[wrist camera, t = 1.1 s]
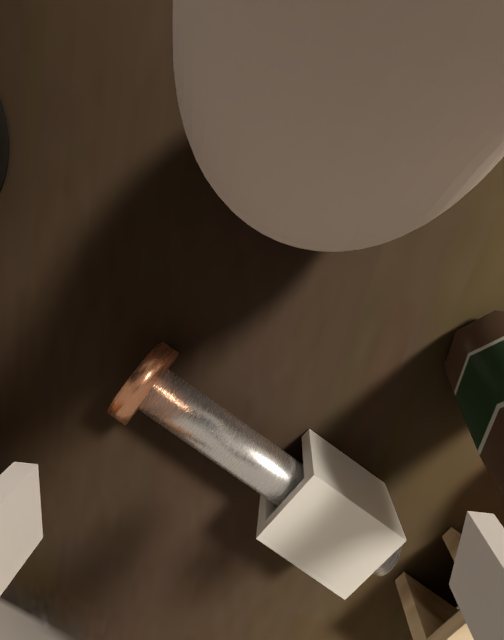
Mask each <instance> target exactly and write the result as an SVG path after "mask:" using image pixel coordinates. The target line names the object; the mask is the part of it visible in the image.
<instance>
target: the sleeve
mask: <svg viewBox="0 0 504 640" xmlns="http://www.w3.org/2000/svg"><path fill="white" fill-rule="evenodd" d="M302 451H303V465H304V479H303V480H302V481H301V482H300V483H299V484H298V485H297V487H296V488H295V489H294V490H293V491H292V492H291V493H290V494H289V495H288V496H287V498H286V499H285V500H284V501H283V502H282V503H281V504H280V505H279V506H278V507H277V506H276V505H274V504H273V503H272V502H270V501H269V500H267V499H266V498H264V497H263V496H262V495H260V503H259V513H258V523H257V534H256V539H257V540H259V541H260V542H262V543H263V544H264V545H266V546H267V547H269V548H270V549H272V550H273V551H275V552H276V553H278V554H279V555H280V556H282V557H283V558H285V559H286V560H288V561H289V562H291V563H292V564H294V565H295V566H296V567H298V568H299V569H301V570H302V571H304V572H305V573H307V574H308V575H310V576H311V577H312V578H314V579H315V580H317V581H318V582H320V583H321V584H323V585H324V586H326V587H327V588H328V589H330V590H331V591H333V592H334V593H336V594H337V595H339V596H340V597H342V598H343V599H344V600H345V599H346V598H347V597H348V596H349V595H350V594H352V593H353V592H354V591H355V590H356V589H357V588H358V587H359V586H360V585H361V584H362V583H363V582H364V581H365V580H366V579H367V578H368V577H369V576H370V575H371V574H372V573H373V572H374V571H375V570H377V569H378V568H379V567H380V566H381V565H382V564H383V563H384V562H385V561H386V560H387V559H388V558H389V557H390V556H391V555H392V554H393V553H394V552H395V551H396V550H397V549H398V548H399V547H400V546H402V545H403V544H404V543H405V542H406V541H407V540H406V537H405V535H404V532H403V530H402V527H401V524H400V522H399V519H398V516H397V514H396V511H395V509H394V506H393V503H392V501H391V498H390V495H389V493H388V490H387V488H386V485H385V483H384V482H383V481H381V480H380V479H378V478H377V477H376V476H374V475H373V474H371V473H370V472H369V471H367V470H366V469H365V468H363V467H362V466H360V465H359V464H358V463H356V462H355V461H353V460H352V459H351V458H349V457H348V456H346V455H345V454H344V453H342V452H341V451H340V450H338V449H337V448H335V447H334V446H333V445H331V444H330V443H328V442H327V441H326V440H324V439H323V438H321V437H320V436H319V435H317V434H316V433H314V432H313V431H312V430H310V429H308V430H307V431H306V433H305V434H304V435H303V436H302Z"/></svg>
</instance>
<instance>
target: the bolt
mask: <svg viewBox="0 0 504 640" xmlns="http://www.w3.org/2000/svg"><path fill="white" fill-rule="evenodd" d="M178 354H179V353H178V352H177V351H175V350H174V349H172V348H171V347H170V346H168V345H167V344H165V343H164V342H163V341H160V342H159V343H158V344H157V345H156V346H155V347H154V348H153V349H152V350H151V351H150V352H149V354H148V355H147V356H146V357H145V358H144V360H143V361H142V362H141V363H140V364H139V366H138V367H137V368H136V370H135V371H134V372H133V373H132V375H131V376H130V377H129V379H128V380H127V381H126V383H125V384H124V385H123V387H122V388H121V390H120V391H119V392H118V394H117V395H116V397H115V398H114V400H113V401H112V403H111V404H110V406H109V408H108V410H107V412H106V413H108V414H109V415H111V416H112V417H114V418H115V419H117V420H118V421H119V422H121V423H122V424H124V425H126V424H127V423H128V422H129V421H130V420H131V418H132V417H133V416H134V414H135V413H136V412H137V411H138V410H140V411H141V412H143V413H144V414H146V415H147V416H148V417H150V418H151V419H153V420H154V421H156V422H157V423H158V424H160V425H161V426H163V427H164V428H166V429H167V430H168V431H170V432H171V433H173V434H174V435H176V436H177V437H178V438H180V439H181V440H183V441H184V442H186V443H187V444H189V445H190V446H191V447H193V448H194V449H196V450H197V451H199V452H200V453H201V454H203V455H204V456H206V457H207V458H209V459H210V460H211V461H213V462H214V463H216V464H217V465H219V466H220V467H221V468H223V469H224V470H226V471H227V472H229V473H230V474H232V475H233V476H234V477H236V478H237V479H239V480H240V481H242V482H243V483H244V484H246V485H247V486H249V487H250V488H252V489H253V490H254V491H256V492H257V493H259V494H260V495H262V496H263V497H264V498H266V499H267V500H269V501H270V502H272V503H273V504H274V505H276V506H277V507H278V506H279V505H280V504H281V503H282V502H283V501H284V500H285V499H286V498H287V496H288V495H289V494H290V493H291V492H292V491H293V490H294V489H295V488H296V487H297V485H298V484H299V483H300V482H301V481H302V480H303V479H304V465H303V464H301V463H300V462H299V461H297V460H296V459H294V458H293V457H292V456H290V455H289V454H287V453H286V452H285V451H283V450H282V449H280V448H279V447H277V446H276V445H275V444H273V443H272V442H270V441H269V440H268V439H266V438H265V437H263V436H262V435H261V434H259V433H258V432H256V431H255V430H254V429H252V428H251V427H249V426H248V425H247V424H245V423H244V422H242V421H241V420H240V419H238V418H237V417H235V416H234V415H232V414H231V413H230V412H228V411H227V410H225V409H224V408H223V407H221V406H220V405H218V404H217V403H216V402H214V401H213V400H211V399H210V398H209V397H207V396H206V395H204V394H203V393H202V392H200V391H199V390H197V389H196V388H195V387H193V386H192V385H190V384H189V383H187V382H186V381H185V380H183V379H182V378H180V377H179V376H178V375H176V374H175V373H173V372H172V371H171V370H169V368H170V366H171V365H172V363H173V362H174V360H175V359H176V358H177V356H178ZM401 548H402V546H400V547H399V548H398V549H397V550H396V551H395V552H394V553H393V554H392V555H391V556H390V557H389V558H388V559H387V560H386V561H385V562H384V563H383V564H382V565H381V566H380V567H379V568H378V569H377V570H375V571H374V572H373V574H375V575H377V576H383V575H386V574H387V573H389V572H390V571H391V570H392V569H393V568H394V566H395V565H396V563H397V561H398V559H399V557H400V554H401Z"/></svg>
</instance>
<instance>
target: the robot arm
mask: <svg viewBox="0 0 504 640" xmlns="http://www.w3.org/2000/svg"><path fill="white" fill-rule="evenodd" d="M8 158H9V136H8V128H7V123H6V118H5V114H4V110H3V107H2V104H1V101H0V190H1V187H2V185H3V182H4V179H5V175H6V171H7V166H8ZM42 538H43V531H42V516H41V501H40V486H39V471H38V464H31V463H22V462H13V463H12V464H11V465H10V466H9V467H8V468H7V469H6V470H5V471H4V472H3V473H2V474H0V596H1V594H2V593H3V592H4V590H5V589H6V587H7V586H8V585H9V583H10V582H11V581H12V579H13V578H14V576H15V575H16V574H17V572H18V571H19V570H20V568H21V567H22V566H23V564H24V563H25V561H26V560H27V559H28V557H29V556H30V555H31V553H32V552H33V550H34V549H35V548H36V546H37V545H38V544H39V542H40V541H41V539H42ZM449 586H450V589H451V591H452V593H453V595H454V597H455V600H456V602H457V604H458V606H459V608H460V611H461V613H462V615H463V617H464V619H465V621H466V624H467V626H468V628H469V630H470V632H471V635H472V637H473V639H474V640H504V528H503V526H502V525H501V523H500V522H499V521H498V519H497V518H496V516H495V515H494V514H491V513H482V512H473V511H467V514H466V518H465V522H464V526H463V530H462V534H461V538H460V542H459V546H458V550H457V554H456V558H455V562H454V566H453V570H452V574H451V578H450V582H449Z"/></svg>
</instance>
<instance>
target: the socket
mask: <svg viewBox="0 0 504 640" xmlns="http://www.w3.org/2000/svg"><path fill="white" fill-rule="evenodd" d="M442 538H443V540H444V542H445V544H446V546H447V548H448V550H449V552H450V554H451V556H452V558H453V560H454V562H455V558H456V554H457V550H458V546H459V542H460V538H461V533H459V532H458V531H456V530H455V529H454V528H452V527H451V528H450V529H449V530H448V531H447V532H446V533H445V534H444V535H443V536H442ZM395 583H396V586H397V589H398V593H399V596H400V599H401V602H402V606H403V609H404V612H405V616H406V619H407V622H408V625H409V629H410V632H411V635H412V639H413V640H474V639H473V637H472V635H471V632H470V630H469V628H468V626H467V624H466V621H465V619H464V617H463V615H462V613H461V611H460V608H459V609H456V608H455V607H453V606H452V605H450V604H449V603H448V602H446V601H445V600H443V599H442V598H440V597H439V596H438V595H436V594H435V593H433V592H432V591H431V590H429V589H428V588H426V587H425V586H423V585H422V584H421V583H419V582H418V581H416V580H415V579H413V578H412V577H411V576H409V575H408V574H406V573H405V572H403V573H402V574H401V575H400V576H399V577H398V578H397V579H396V580H395Z"/></svg>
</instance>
